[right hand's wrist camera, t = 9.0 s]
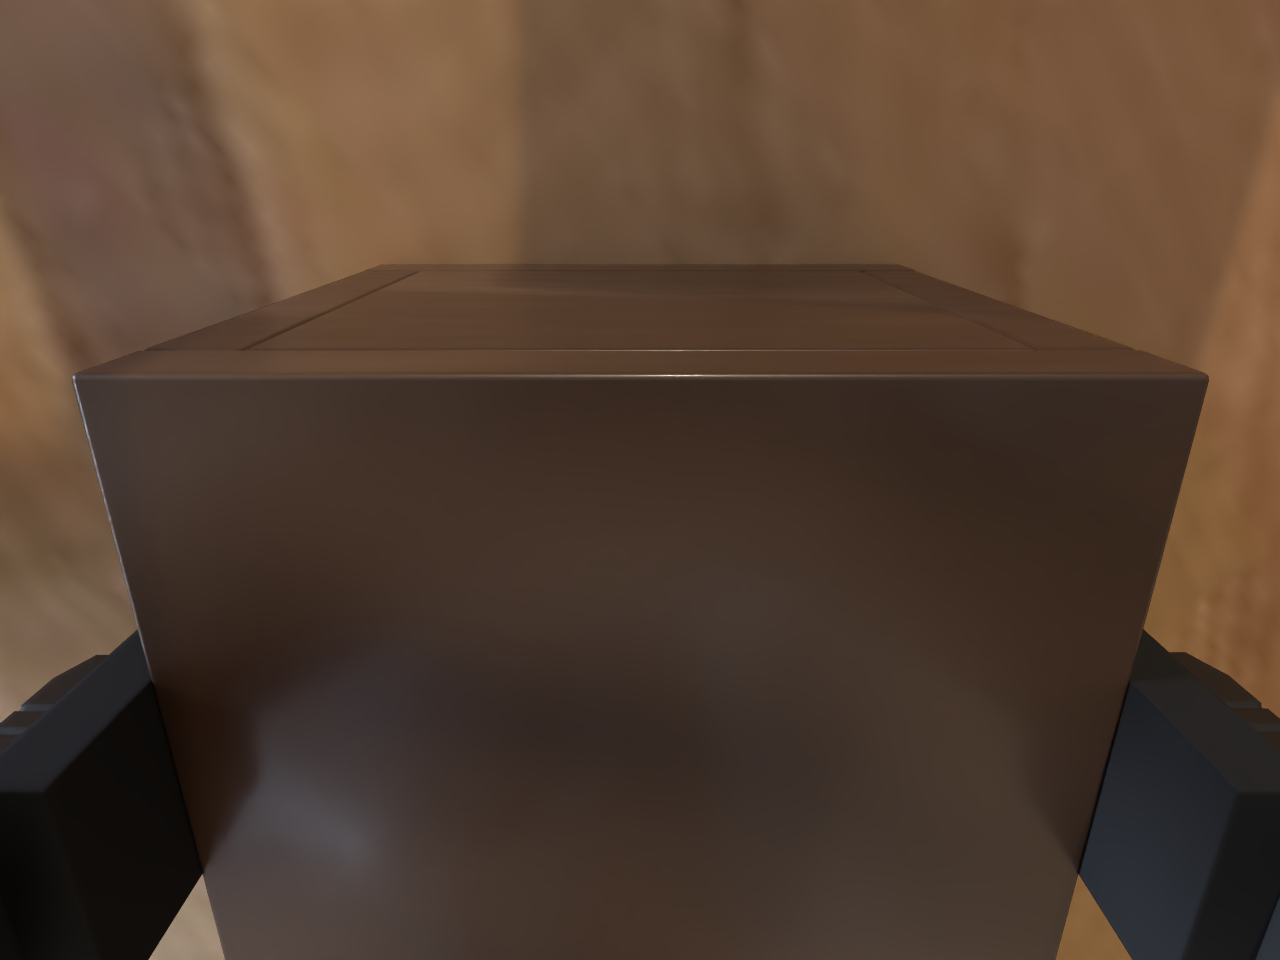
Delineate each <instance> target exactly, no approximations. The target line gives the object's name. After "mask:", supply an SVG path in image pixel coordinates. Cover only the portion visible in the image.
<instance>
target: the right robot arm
mask: <svg viewBox="0 0 1280 960" xmlns="http://www.w3.org/2000/svg"><path fill="white" fill-rule="evenodd" d="M1078 874H1079V875H1080V877H1081V879H1082V880H1083V882H1084V883H1085V885H1086V886H1087V888H1088V890H1089V891H1090V893H1091V894H1092V896H1093V898H1094V899H1095V901H1096V902H1097V904H1098V906H1099V907H1100V909H1101V910H1102V912H1103V914H1104V915H1105V917H1106V918H1107V920H1108V921H1109V923H1110V925H1111V926H1112V928H1113V929H1114V931H1115V933H1116V934H1117V936H1118V937H1119V939H1120V941H1121V942H1122V944H1123V945H1124V947H1125V948H1126V950H1127V952H1128V953H1129V955H1130V956H1131V958H1132V960H1280V719H1279V718H1278V717H1277V716H1276V715H1275V714H1273V713H1272V712H1271V711H1270V710H1269V709H1262V707H1261V703H1260V702H1259V701H1258V700H1257V699H1256V698H1255V697H1253V696H1252V695H1251V694H1250V693H1249V692H1247V691H1246V690H1245V689H1244V688H1243V687H1242V686H1240V685H1239V684H1238V683H1237V682H1236V681H1234V680H1233V679H1232V678H1231V677H1230V676H1228V675H1227V674H1225V673H1223V672H1221V671H1219V670H1217V669H1215V668H1213V667H1212V666H1210V665H1208V664H1206V663H1204V662H1202V661H1200V660H1199V659H1197V658H1195V657H1193V656H1191V655H1189V654H1187V653H1186V652H1168V651H1167V650H1166V649H1165V648H1164V647H1162V646H1161V645H1160V644H1159V643H1158V642H1157V641H1156V640H1155V639H1154V638H1152V637H1151V636H1150V635H1149V634H1148V633H1147V632H1146V631H1145V630H1144V629H1143V631H1142V635H1141V639H1140V642H1139V646H1138V650H1137V654H1136V657H1135V661H1134V665H1133V669H1132V673H1131V676H1130V680H1129V684H1128V688H1127V691H1126V695H1125V699H1124V703H1123V707H1122V710H1121V714H1120V718H1119V722H1118V725H1117V729H1116V733H1115V737H1114V740H1113V744H1112V748H1111V752H1110V756H1109V759H1108V763H1107V767H1106V771H1105V774H1104V778H1103V782H1102V786H1101V790H1100V793H1099V797H1098V801H1097V805H1096V808H1095V812H1094V816H1093V820H1092V824H1091V827H1090V831H1089V835H1088V839H1087V842H1086V846H1085V850H1084V854H1083V857H1082V861H1081V865H1080V869H1079V873H1078ZM201 875H202V870H201V866H200V862H199V858H198V855H197V851H196V847H195V843H194V840H193V836H192V832H191V828H190V824H189V821H188V817H187V813H186V809H185V805H184V802H183V798H182V794H181V790H180V787H179V783H178V779H177V775H176V771H175V768H174V764H173V760H172V756H171V753H170V749H169V745H168V741H167V737H166V734H165V730H164V726H163V722H162V719H161V715H160V711H159V707H158V703H157V700H156V696H155V692H154V688H153V685H152V681H151V677H150V673H149V669H148V666H147V662H146V658H145V654H144V650H143V647H142V643H141V639H140V635H139V632H138V629H137V630H136V631H135V632H134V633H133V634H132V635H131V636H130V637H128V638H127V639H126V640H125V641H124V642H123V643H122V644H121V645H120V646H118V647H117V648H116V649H115V650H114V651H113V652H112V653H111V654H110V655H95V656H94V657H92V658H90V659H88V660H86V661H84V662H83V663H81V664H79V665H77V666H75V667H73V668H71V669H70V670H68V671H66V672H64V673H62V674H60V675H58V676H57V677H55V678H53V679H52V680H51V681H49V682H48V683H47V684H46V685H45V686H44V687H42V688H41V689H40V690H39V691H38V692H37V693H35V694H34V695H33V696H32V697H31V698H30V699H28V700H27V701H26V702H25V703H24V704H22V705H21V710H20V711H14V712H13V713H12V714H11V715H10V716H8V717H7V718H6V719H5V720H4V721H3V722H1V723H0V960H148V959H149V958H150V956H151V955H152V953H153V951H154V950H155V948H156V947H157V945H158V943H159V942H160V940H161V939H162V937H163V935H164V934H165V932H166V931H167V929H168V928H169V926H170V924H171V923H172V921H173V920H174V918H175V916H176V915H177V913H178V912H179V910H180V908H181V907H182V905H183V904H184V902H185V901H186V899H187V897H188V896H189V894H190V893H191V891H192V889H193V888H194V886H195V885H196V883H197V881H198V880H199V878H200V877H201Z"/></svg>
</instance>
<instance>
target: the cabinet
mask: <svg viewBox="0 0 1280 960" xmlns="http://www.w3.org/2000/svg"><path fill="white" fill-rule="evenodd" d="M72 382H73V386H74V390H75V393H76V397H77V401H78V405H79V409H80V412H81V416H82V420H83V424H84V427H85V431H86V435H87V439H88V443H89V446H90V450H91V454H92V458H93V461H94V465H95V469H96V473H97V477H98V480H99V484H100V488H101V492H102V495H103V499H104V503H105V507H106V511H107V514H108V518H109V522H110V526H111V530H112V533H113V537H114V541H115V545H116V548H117V552H118V556H119V560H120V564H121V567H122V571H123V575H124V579H125V582H126V586H127V590H128V594H129V598H130V601H131V605H132V609H133V613H134V616H135V620H136V624H137V628H138V632H139V635H140V639H141V643H142V647H143V650H144V654H145V658H146V662H147V666H148V669H149V673H150V677H151V681H152V685H153V688H154V692H155V696H156V700H157V703H158V707H159V711H160V715H161V719H162V722H163V726H164V730H165V734H166V737H167V741H168V745H169V749H170V753H171V756H172V760H173V764H174V768H175V771H176V775H177V779H178V783H179V787H180V790H181V794H182V798H183V802H184V805H185V809H186V813H187V817H188V821H189V824H190V828H191V832H192V836H193V840H194V843H195V847H196V851H197V855H198V858H199V862H200V866H201V870H202V874H203V877H204V881H205V885H206V889H207V892H208V896H209V900H210V904H211V908H212V911H213V915H214V919H215V923H216V926H217V930H218V934H219V938H220V942H221V945H222V949H223V953H224V957H225V960H1055V959H1056V956H1057V952H1058V948H1059V944H1060V941H1061V937H1062V933H1063V929H1064V925H1065V922H1066V918H1067V914H1068V910H1069V907H1070V903H1071V899H1072V895H1073V891H1074V888H1075V884H1076V880H1077V876H1078V873H1079V869H1080V865H1081V861H1082V857H1083V854H1084V850H1085V846H1086V842H1087V839H1088V835H1089V831H1090V827H1091V824H1092V820H1093V816H1094V812H1095V808H1096V805H1097V801H1098V797H1099V793H1100V790H1101V786H1102V782H1103V778H1104V774H1105V771H1106V767H1107V763H1108V759H1109V756H1110V752H1111V748H1112V744H1113V740H1114V737H1115V733H1116V729H1117V725H1118V722H1119V718H1120V714H1121V710H1122V707H1123V703H1124V699H1125V695H1126V691H1127V688H1128V684H1129V680H1130V676H1131V673H1132V669H1133V665H1134V661H1135V657H1136V654H1137V650H1138V646H1139V642H1140V639H1141V635H1142V631H1143V627H1144V623H1145V620H1146V616H1147V612H1148V608H1149V605H1150V601H1151V597H1152V593H1153V590H1154V586H1155V582H1156V578H1157V574H1158V571H1159V567H1160V563H1161V559H1162V556H1163V552H1164V548H1165V544H1166V540H1167V537H1168V533H1169V529H1170V525H1171V522H1172V518H1173V514H1174V510H1175V506H1176V503H1177V499H1178V495H1179V491H1180V488H1181V484H1182V480H1183V476H1184V473H1185V469H1186V465H1187V461H1188V457H1189V454H1190V450H1191V446H1192V442H1193V439H1194V435H1195V431H1196V427H1197V423H1198V420H1199V416H1200V412H1201V408H1202V405H1203V401H1204V397H1205V393H1206V389H1207V386H1208V382H1209V377H1208V375H1207V374H1205V373H1203V372H1200V371H1198V370H1195V369H1192V368H1189V367H1186V366H1183V365H1181V364H1178V363H1175V362H1172V361H1169V360H1166V359H1164V358H1161V357H1158V356H1155V355H1152V354H1149V353H1147V352H1144V351H1136V350H1134V349H1132V348H1130V347H1127V346H1124V345H1121V344H1119V343H1116V342H1113V341H1110V340H1107V339H1104V338H1102V337H1099V336H1096V335H1093V334H1090V333H1088V332H1085V331H1082V330H1079V329H1076V328H1074V327H1071V326H1068V325H1065V324H1062V323H1059V322H1057V321H1054V320H1051V319H1048V318H1045V317H1043V316H1040V315H1037V314H1034V313H1031V312H1028V311H1026V310H1023V309H1020V308H1017V307H1014V306H1012V305H1009V304H1006V303H1003V302H1000V301H997V300H995V299H992V298H989V297H986V296H983V295H981V294H978V293H975V292H972V291H969V290H966V289H964V288H961V287H958V286H955V285H952V284H950V283H947V282H944V281H941V280H938V279H935V278H933V277H930V276H927V275H924V274H921V273H919V272H916V271H914V270H912V269H909V268H906V267H903V266H901V265H380V266H377V267H374V268H371V269H368V270H366V271H363V272H361V273H358V274H355V275H352V276H349V277H347V278H344V279H341V280H338V281H335V282H333V283H330V284H327V285H324V286H321V287H318V288H316V289H313V290H310V291H307V292H304V293H302V294H299V295H296V296H293V297H290V298H288V299H285V300H282V301H279V302H276V303H273V304H271V305H268V306H265V307H262V308H259V309H257V310H254V311H251V312H248V313H245V314H242V315H240V316H237V317H234V318H231V319H228V320H226V321H223V322H220V323H217V324H214V325H212V326H209V327H206V328H203V329H200V330H197V331H195V332H192V333H189V334H186V335H183V336H181V337H178V338H175V339H172V340H169V341H167V342H164V343H161V344H158V345H155V346H152V347H150V348H147V349H145V350H143V351H138V352H135V353H132V354H129V355H126V356H123V357H121V358H118V359H115V360H112V361H109V362H107V363H104V364H101V365H98V366H95V367H92V368H90V369H87V370H84V371H81V372H78V373H76V374H74V375H73V378H72Z"/></svg>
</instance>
